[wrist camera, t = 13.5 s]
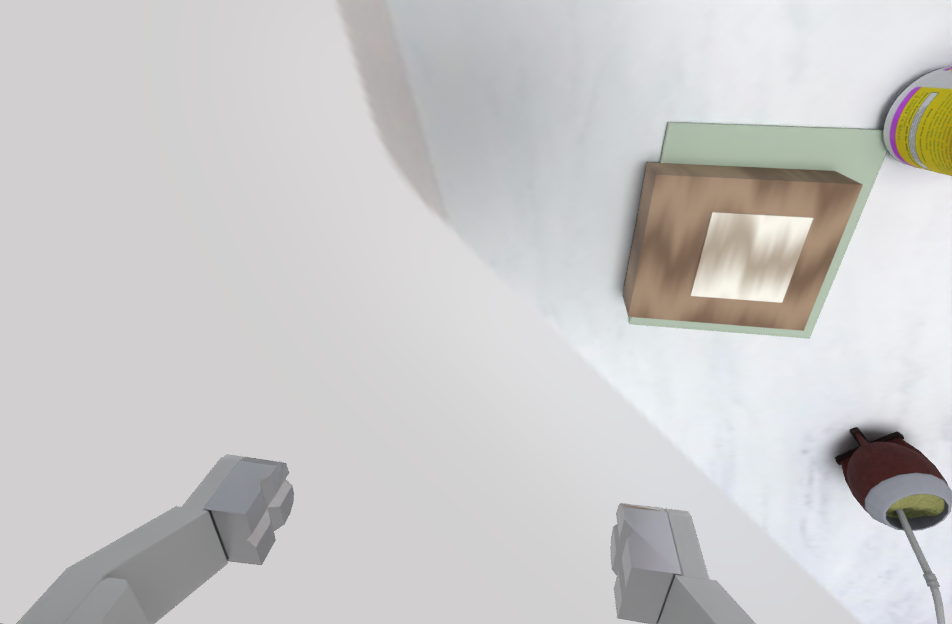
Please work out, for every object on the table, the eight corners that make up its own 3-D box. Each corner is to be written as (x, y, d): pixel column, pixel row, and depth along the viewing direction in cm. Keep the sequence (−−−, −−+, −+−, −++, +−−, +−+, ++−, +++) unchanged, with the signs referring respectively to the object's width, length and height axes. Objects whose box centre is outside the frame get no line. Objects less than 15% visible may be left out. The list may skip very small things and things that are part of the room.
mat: (667, 122, 38) (668, 123, 38) (891, 129, 36) (895, 131, 36) (628, 321, 47) (629, 324, 47) (807, 335, 45) (809, 338, 45)
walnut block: (656, 175, 36) (864, 185, 34) (647, 162, 39) (834, 170, 38) (628, 318, 42) (804, 332, 40) (622, 295, 45) (783, 307, 44)
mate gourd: (888, 409, 48) (1012, 548, 35) (923, 457, 50) (1051, 605, 37) (811, 443, 51) (898, 582, 38) (847, 487, 53) (941, 632, 40)
